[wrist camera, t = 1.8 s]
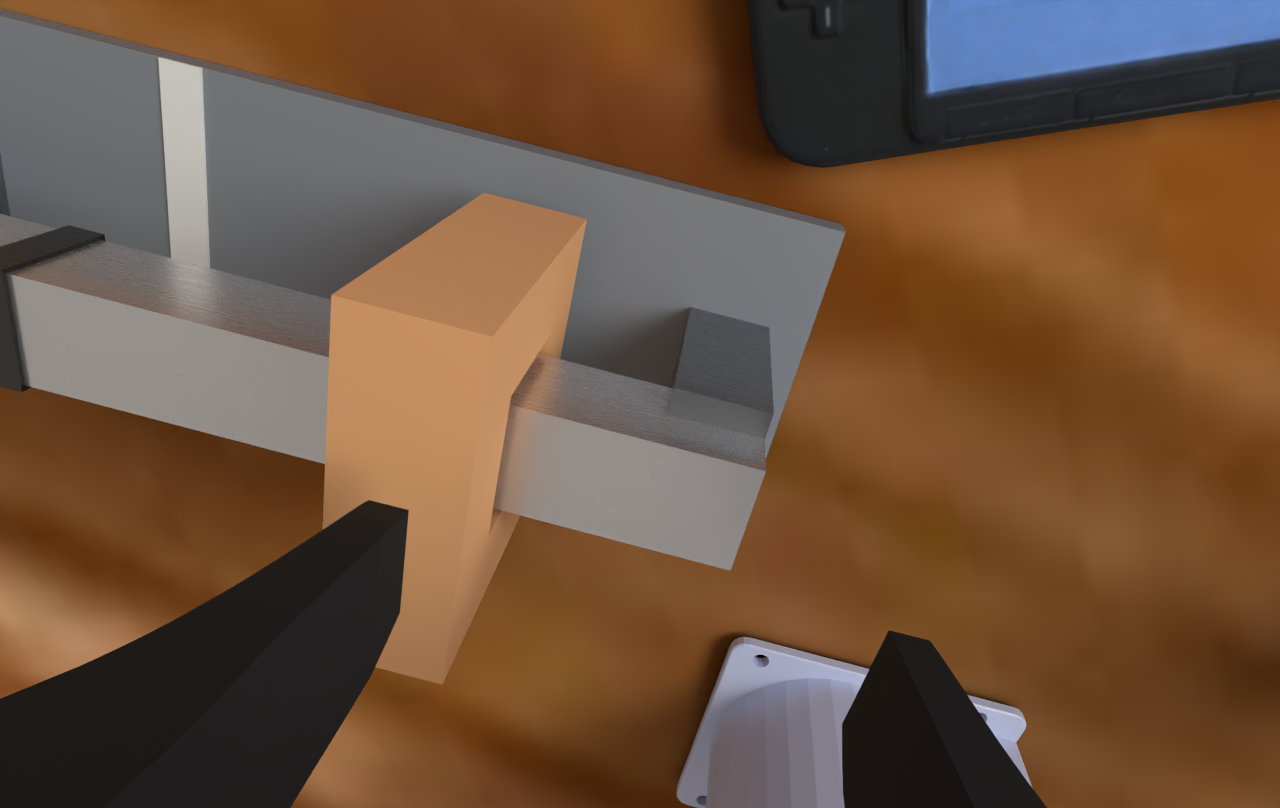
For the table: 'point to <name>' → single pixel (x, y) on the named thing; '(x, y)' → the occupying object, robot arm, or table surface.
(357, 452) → the collar
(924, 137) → the handheld game console
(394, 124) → the board
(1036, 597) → the table surface
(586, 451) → the grey rail plate
